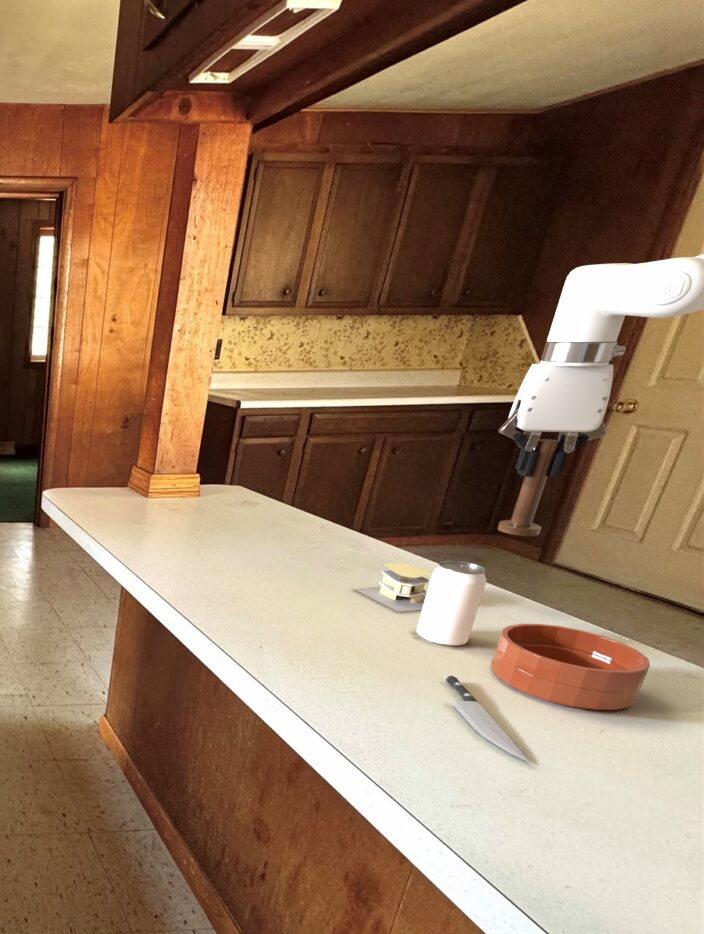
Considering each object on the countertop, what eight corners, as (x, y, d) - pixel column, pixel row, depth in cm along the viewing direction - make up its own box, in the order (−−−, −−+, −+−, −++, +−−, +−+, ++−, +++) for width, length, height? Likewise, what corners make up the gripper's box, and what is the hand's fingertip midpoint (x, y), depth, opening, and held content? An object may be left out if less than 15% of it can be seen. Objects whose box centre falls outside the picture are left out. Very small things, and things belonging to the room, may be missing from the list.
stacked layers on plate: (355, 590, 123) (362, 562, 121) (400, 586, 124) (407, 559, 122) (398, 611, 114) (406, 582, 112) (446, 608, 114) (455, 578, 112)
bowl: (598, 669, 94) (613, 631, 92) (657, 722, 82) (676, 680, 79) (474, 654, 99) (486, 618, 97) (512, 702, 87) (527, 661, 85)
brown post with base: (531, 528, 111) (561, 438, 105) (544, 537, 106) (577, 444, 101) (492, 525, 113) (520, 437, 107) (504, 534, 108) (534, 442, 103)
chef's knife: (497, 761, 76) (529, 763, 75) (499, 753, 76) (531, 755, 75) (428, 679, 93) (453, 680, 92) (429, 672, 93) (455, 673, 92)
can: (422, 643, 103) (443, 571, 98) (410, 626, 108) (429, 557, 104) (473, 649, 100) (497, 576, 96) (458, 632, 106) (480, 561, 101)
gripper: (633, 352, 99) (590, 473, 106) (499, 354, 105) (466, 468, 112) (663, 355, 93) (615, 483, 100) (518, 356, 99) (482, 477, 106)
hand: (536, 474), depth 106 cm, fingers closed on brown post with base, 2 cm apart
